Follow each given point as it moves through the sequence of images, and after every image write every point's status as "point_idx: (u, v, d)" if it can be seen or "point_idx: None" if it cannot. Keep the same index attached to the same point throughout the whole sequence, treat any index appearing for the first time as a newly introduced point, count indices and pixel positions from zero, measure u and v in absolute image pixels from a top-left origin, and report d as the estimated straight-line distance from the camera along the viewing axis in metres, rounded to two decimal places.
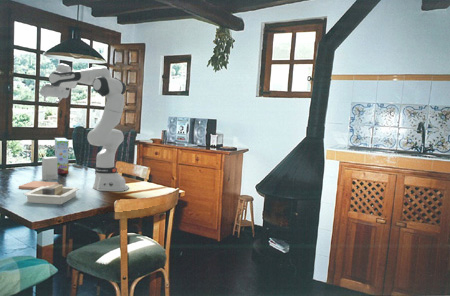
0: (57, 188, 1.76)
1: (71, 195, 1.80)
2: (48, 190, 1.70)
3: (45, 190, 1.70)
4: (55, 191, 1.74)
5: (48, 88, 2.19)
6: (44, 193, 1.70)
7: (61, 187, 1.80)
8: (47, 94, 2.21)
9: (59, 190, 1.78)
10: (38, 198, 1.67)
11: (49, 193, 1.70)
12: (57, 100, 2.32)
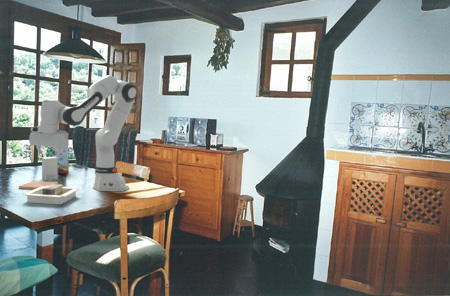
0: (57, 188, 1.76)
1: (71, 195, 1.80)
2: (48, 190, 1.70)
3: (45, 190, 1.70)
4: (55, 191, 1.74)
5: None
6: (44, 193, 1.70)
7: (61, 187, 1.80)
8: None
9: (59, 190, 1.78)
10: (38, 198, 1.67)
11: (49, 193, 1.70)
12: (42, 151, 1.74)
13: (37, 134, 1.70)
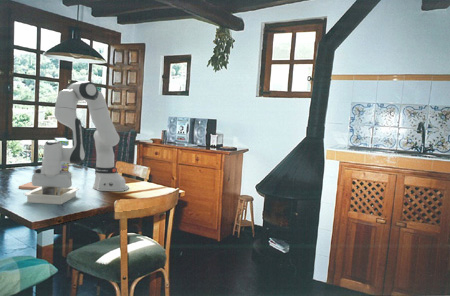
0: (57, 188, 1.76)
1: (71, 195, 1.80)
2: (48, 190, 1.70)
3: (45, 190, 1.70)
4: (55, 191, 1.74)
5: None
6: (44, 193, 1.70)
7: None
8: None
9: None
10: (38, 198, 1.67)
11: (49, 193, 1.70)
12: None
13: (40, 176, 1.72)
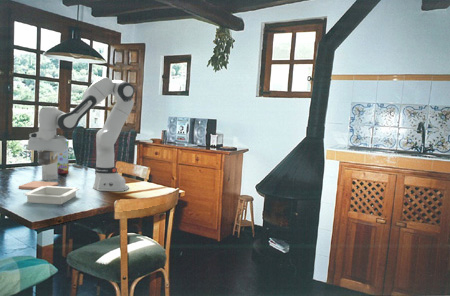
0: (52, 152, 1.83)
1: (71, 195, 1.80)
2: (44, 153, 1.77)
3: (41, 153, 1.77)
4: (51, 155, 1.81)
5: None
6: (40, 156, 1.77)
7: None
8: None
9: None
10: (38, 198, 1.67)
11: (45, 156, 1.77)
12: None
13: (36, 140, 1.79)
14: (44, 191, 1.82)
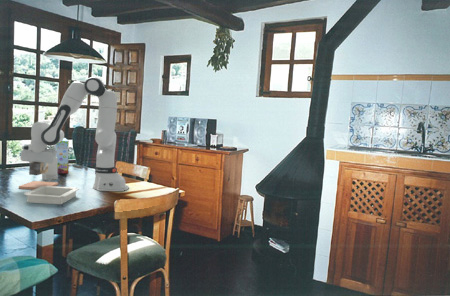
0: None
1: (71, 195, 1.80)
2: (34, 164, 1.93)
3: (32, 164, 1.93)
4: (41, 166, 1.97)
5: None
6: (31, 167, 1.93)
7: (47, 163, 2.04)
8: None
9: None
10: (38, 198, 1.67)
11: (35, 167, 1.93)
12: None
13: (28, 152, 1.95)
14: (44, 191, 1.82)
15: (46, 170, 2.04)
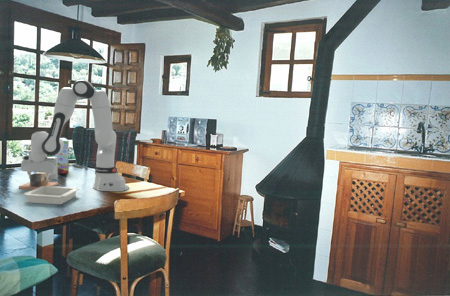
0: (43, 175, 2.00)
1: (71, 195, 1.80)
2: (35, 176, 1.94)
3: (32, 176, 1.94)
4: (42, 177, 1.98)
5: None
6: (31, 178, 1.94)
7: None
8: None
9: (45, 176, 2.02)
10: (38, 198, 1.67)
11: (36, 178, 1.94)
12: None
13: (28, 162, 1.96)
14: (44, 191, 1.82)
15: (47, 181, 2.04)
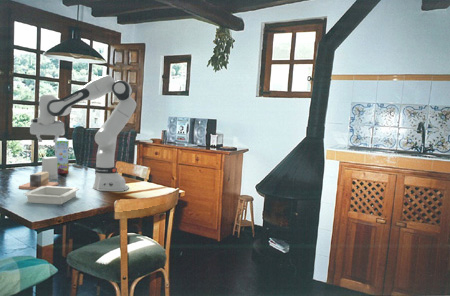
0: (43, 175, 2.00)
1: (71, 195, 1.80)
2: (35, 176, 1.94)
3: (32, 176, 1.94)
4: (42, 177, 1.98)
5: None
6: (31, 178, 1.94)
7: (47, 174, 2.04)
8: None
9: (45, 176, 2.02)
10: (38, 198, 1.67)
11: (36, 178, 1.94)
12: (41, 139, 2.02)
13: (37, 125, 1.99)
14: (44, 191, 1.82)
15: (47, 181, 2.04)
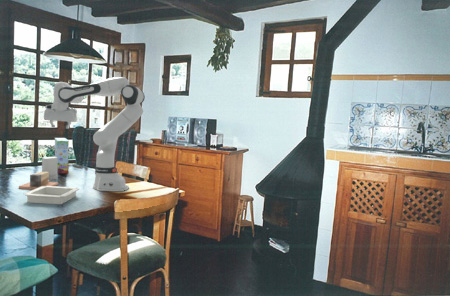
0: (43, 175, 2.00)
1: (71, 195, 1.80)
2: (35, 176, 1.94)
3: (32, 176, 1.94)
4: (42, 177, 1.98)
5: None
6: (31, 178, 1.94)
7: (47, 174, 2.04)
8: None
9: (45, 176, 2.02)
10: (38, 198, 1.67)
11: (36, 178, 1.94)
12: (54, 125, 2.10)
13: (50, 111, 2.07)
14: (44, 191, 1.82)
15: (47, 181, 2.04)
